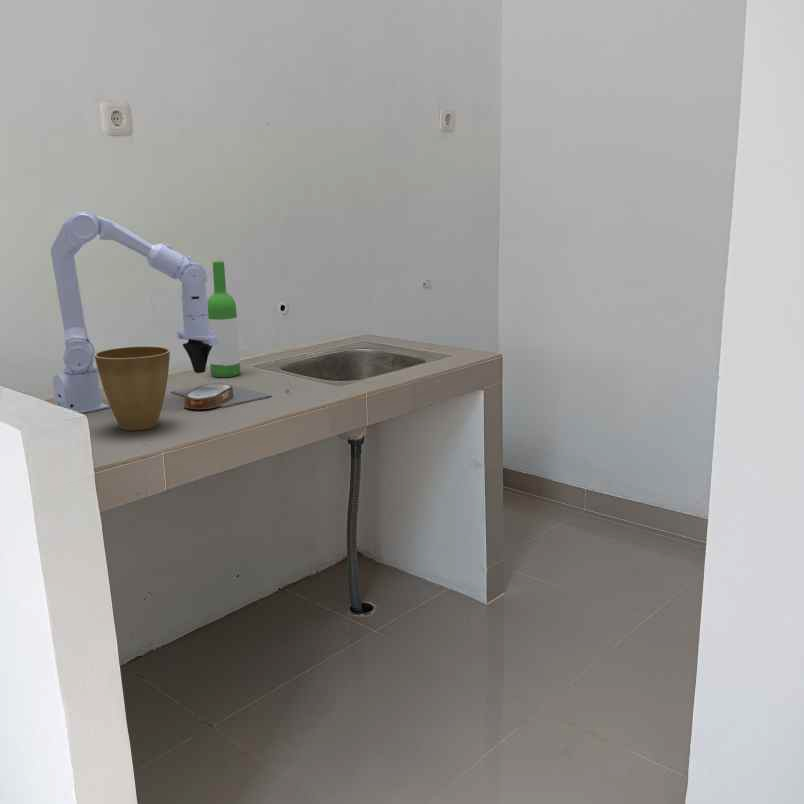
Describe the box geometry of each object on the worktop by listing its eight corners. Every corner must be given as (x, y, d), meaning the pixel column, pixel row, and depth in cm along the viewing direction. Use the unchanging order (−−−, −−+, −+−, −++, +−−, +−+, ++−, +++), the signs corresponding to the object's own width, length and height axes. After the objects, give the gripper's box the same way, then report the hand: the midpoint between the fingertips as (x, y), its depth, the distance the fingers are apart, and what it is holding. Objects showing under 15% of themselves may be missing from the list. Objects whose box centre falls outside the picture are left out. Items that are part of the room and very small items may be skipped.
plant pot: (184, 429, 179) (178, 353, 175) (110, 440, 172) (102, 361, 168) (164, 413, 191) (158, 342, 188) (95, 423, 184) (87, 349, 180)
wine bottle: (217, 371, 234) (209, 260, 227) (244, 372, 233) (237, 260, 225) (206, 378, 226) (198, 262, 219) (234, 378, 225) (227, 262, 218)
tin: (178, 408, 194) (213, 412, 192) (177, 394, 193) (213, 398, 191) (206, 393, 208) (239, 396, 207) (206, 380, 207) (239, 383, 206)
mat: (222, 407, 196) (221, 406, 195) (171, 392, 211) (170, 391, 211) (271, 396, 205) (271, 395, 205) (219, 383, 220) (219, 381, 220)
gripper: (228, 315, 197) (231, 373, 200) (193, 310, 207) (197, 365, 210) (201, 319, 192) (205, 378, 196) (167, 313, 202) (172, 370, 206)
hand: (199, 372), depth 203 cm, fingers closed
